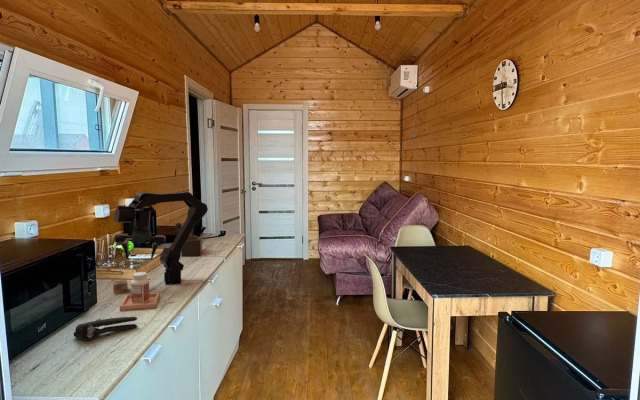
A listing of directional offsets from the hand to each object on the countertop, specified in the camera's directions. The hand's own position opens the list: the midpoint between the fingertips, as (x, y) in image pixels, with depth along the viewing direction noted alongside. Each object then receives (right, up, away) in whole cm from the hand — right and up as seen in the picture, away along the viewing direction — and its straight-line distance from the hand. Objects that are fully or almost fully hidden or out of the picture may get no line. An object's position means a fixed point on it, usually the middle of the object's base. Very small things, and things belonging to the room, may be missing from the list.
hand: (139, 259), depth 159 cm
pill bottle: (+7, -14, -14) cm, 21 cm away
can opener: (+8, -18, -39) cm, 44 cm away
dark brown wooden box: (-1, -7, +61) cm, 62 cm away
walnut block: (-7, -13, -2) cm, 15 cm away
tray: (+7, -15, -14) cm, 22 cm away
